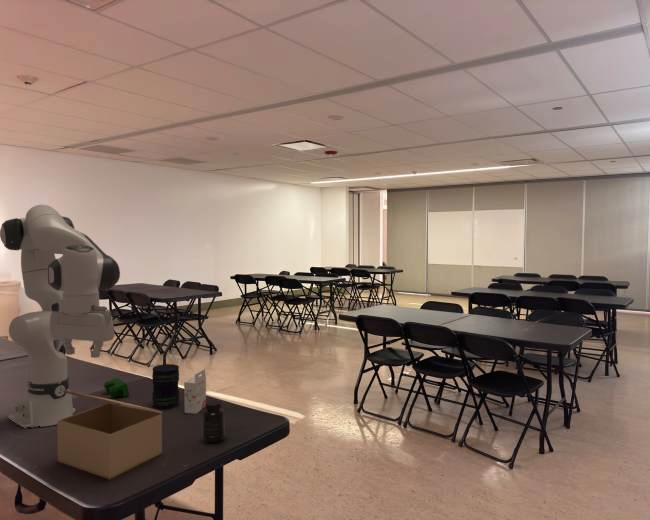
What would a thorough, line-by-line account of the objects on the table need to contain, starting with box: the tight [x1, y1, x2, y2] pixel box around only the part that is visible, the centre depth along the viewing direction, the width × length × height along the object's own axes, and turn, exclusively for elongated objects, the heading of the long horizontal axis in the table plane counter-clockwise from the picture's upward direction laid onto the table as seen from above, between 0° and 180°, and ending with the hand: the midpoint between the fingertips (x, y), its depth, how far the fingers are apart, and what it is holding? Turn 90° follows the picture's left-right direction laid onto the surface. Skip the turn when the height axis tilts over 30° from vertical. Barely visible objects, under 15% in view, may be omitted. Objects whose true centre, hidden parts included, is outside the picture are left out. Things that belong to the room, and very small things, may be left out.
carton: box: [56, 403, 163, 480], centre depth 138 cm, size 22×18×12 cm
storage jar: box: [151, 363, 180, 411], centre depth 182 cm, size 10×10×15 cm
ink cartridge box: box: [183, 369, 207, 415], centre depth 178 cm, size 9×5×15 cm, turn 168°
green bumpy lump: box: [103, 377, 130, 399], centre depth 193 cm, size 12×6×9 cm, turn 36°
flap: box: [63, 390, 163, 414], centre depth 138 cm, size 22×18×1 cm
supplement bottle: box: [202, 400, 225, 444], centre depth 151 cm, size 7×7×12 cm
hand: (82, 355), depth 128 cm, fingers open, 8 cm apart
